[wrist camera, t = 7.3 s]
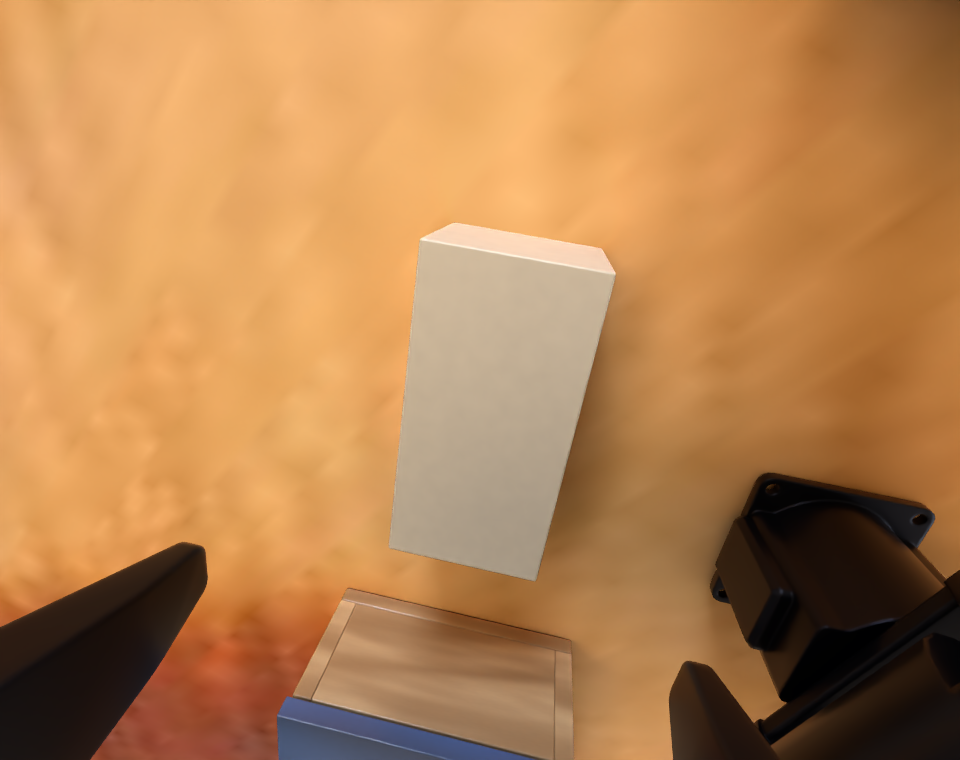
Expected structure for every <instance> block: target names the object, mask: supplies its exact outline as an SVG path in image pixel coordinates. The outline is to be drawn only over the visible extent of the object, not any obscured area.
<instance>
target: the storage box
mask: <svg viewBox="0 0 960 760" xmlns="http://www.w3.org/2000/svg"><path fill="white" fill-rule="evenodd" d="M293 698H296V699H300V700H304V701H308V702H312V703H316V704H319V705H323V706H327V707H331V708H335V709H339V710H343V711H347V712H351V713H355V714H359V715H363V716H367V717H371V718H375V719H378V720H382V721H386V722H390V723H394V724H398V725H402V726H406V727H410V728H414V729H418V730H422V731H426V732H430V733H434V734H437V735H441V736H445V737H449V738H453V739H457V740H461V741H465V742H469V743H473V744H477V745H481V746H485V747H489V748H493V749H496V750H500V751H504V752H508V753H512V754H516V755H520V756H524V757H528V758H532V759H536V760H574V730H573V691H572V655H571V641H570V640H566V639H562V638H558V637H554V636H549V635H545V634H541V633H537V632H532V631H528V630H524V629H520V628H515V627H511V626H507V625H503V624H498V623H494V622H490V621H486V620H481V619H477V618H473V617H469V616H464V615H460V614H456V613H452V612H447V611H443V610H439V609H435V608H430V607H426V606H422V605H418V604H413V603H409V602H405V601H401V600H396V599H392V598H388V597H384V596H379V595H375V594H371V593H367V592H362V591H358V590H354V589H350V588H347V590H346V592H345V594H344V596H343V598H342V600H341V601H340V603H339V605H338V607H337V609H336V611H335V613H334V615H333V617H332V619H331V621H330V623H329V625H328V627H327V628H326V630H325V632H324V634H323V636H322V638H321V640H320V642H319V644H318V646H317V648H316V650H315V652H314V654H313V656H312V658H311V660H310V662H309V664H308V666H307V668H306V670H305V672H304V674H303V676H302V677H301V679H300V681H299V683H298V685H297V687H296V689H295V691H294V693H293Z"/></svg>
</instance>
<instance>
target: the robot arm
mask: <svg viewBox="0 0 960 760" xmlns="http://www.w3.org/2000/svg"><path fill="white" fill-rule="evenodd" d="M771 484H776V485H775V486H774V488H771V489H766V488H767V486H768V485H771ZM919 514H920V515H919ZM916 515H919V516H918V517H917V518H914V517H915V516H916ZM913 518H914V519H913ZM934 520H935V515H934V514H933V513H932V511H930V510H929V509H928V508H927V507H926V506H925V505H923V504H921V503H917V502H912V501H908V500H903V499H898V498H893V497H888V496H883V495H878V494H873V493H868V492H863V491H859V490H854V489H849V488H844V487H839V486H834V485H829V484H824V483H819V482H815V481H810V480H805V479H800V478H795V477H790V476H785V475H780V474H775V473H766V474H763V475H762V476H760V477H759V478H758V479H757V481H756V482H755V485H754V487H753V489H752V491H751V494H750V496H749V498H748V500H747V503H746V505H745V507H744V509H743V511H742V514H741V516H739V517H738V518H737V519H736V520H735V521H734V523H733V525H732V527H731V530H730V532H729V534H728V536H727V539H726V541H725V543H724V545H723V548H722V550H721V552H720V554H719V557H718V559H717V561H716V564H715V565H716V568H717V570H716V572H715V574H714V576H713V578H712V581H711V583H710V590H711V592H712V595H713V597H714V598H715V599H716V600H718V601H720V602H725V603H729V604H731V606H732V608H733V611H734V613H735V616H736V618H737V621H738V623H739V626H740V629H741V631H742V634H743V636H744V639H745V641H746V642H747V643H748V645H749V646H750V648H753V649H757V650H760V653H761V655H762V657H763V660H764V662H765V664H766V667H767V669H768V672H769V674H770V676H771V679H772V681H773V684H774V686H775V688H776V691H777V693H778V696H779V698H780V699H781V700H782V701H784V702H787V703H786V704H785V705H784V706H782V707H781V708H780V709H778V710H777V711H776V712H774V713H773V714H772V715H770V716H769V717H768V718H766V719H765V720H762V719H759V720H757V721H756V722H755V723H753V722H752V721H751V719H750V718H749V717H748V715H747V714H746V713H745V711H744V710H743V709H742V707H741V706H740V705H739V703H738V702H737V701H736V699H735V698H734V697H733V695H732V694H731V693H730V691H729V690H728V689H727V687H726V686H725V685H724V683H723V682H722V681H721V680H720V678H719V677H718V676H717V674H716V673H715V672H714V670H713V669H712V668H711V667H709V666H708V665H705V664H701V663H697V662H692V661H686V662H684V663H683V665H682V666H681V669H680V671H679V673H678V675H677V677H676V679H675V682H674V684H673V686H672V688H671V691H670V696H669V711H670V724H671V737H672V751H673V760H960V570H959V571H957V572H956V573H955V574H953V575H952V576H951V577H949V578H948V579H945V578H944V577H943V575H942V574H941V573H940V572H939V571H938V570H937V569H936V568H935V567H934V566H933V565H932V564H931V563H930V562H929V561H928V560H927V559H926V558H925V557H924V555H923V554H922V553H921V552H920V551H919V550H918V549H917V548H918V546H919V544H920V543H921V541H922V540H923V538H924V537H925V535H926V534H927V532H928V531H929V529H930V527H931V526H932V524H933V523H934ZM207 580H208V575H207V564H206V552H205V549H204V548H203V547H202V546H200V545H196V544H191V543H187V542H181V543H178V544H176V545H174V546H171V547H169V548H167V549H165V550H163V551H161V552H159V553H157V554H154V555H152V556H150V557H148V558H146V559H144V560H142V561H140V562H138V563H135V564H133V565H131V566H129V567H127V568H125V569H123V570H121V571H118V572H116V573H114V574H112V575H110V576H108V577H106V578H104V579H101V580H99V581H97V582H95V583H93V584H91V585H89V586H87V587H85V588H82V589H80V590H78V591H76V592H74V593H72V594H70V595H68V596H65V597H63V598H61V599H59V600H57V601H55V602H53V603H51V604H49V605H46V606H44V607H42V608H40V609H38V610H36V611H34V612H32V613H29V614H27V615H25V616H23V617H21V618H19V619H17V620H15V621H12V622H10V623H8V624H6V625H4V626H2V627H0V760H90V759H91V758H92V756H93V755H94V754H95V752H96V751H97V750H98V748H99V747H100V746H101V744H102V743H103V741H104V740H105V739H106V737H107V736H108V735H109V733H110V732H111V731H112V729H113V728H114V727H115V725H116V724H117V722H118V721H119V720H120V718H121V717H122V716H123V714H124V713H125V712H126V710H127V709H128V708H129V706H130V705H131V703H132V702H133V701H134V699H135V698H136V697H137V695H138V694H139V693H140V691H141V690H142V689H143V687H144V686H145V684H146V683H147V682H148V680H149V679H150V677H151V676H152V675H153V673H154V672H155V670H156V669H157V667H158V666H159V664H160V663H161V661H162V659H163V658H164V656H165V655H166V653H167V651H168V650H169V648H170V646H171V645H172V643H173V641H174V640H175V638H176V636H177V635H178V633H179V632H180V630H181V628H182V627H183V625H184V623H185V622H186V620H187V618H188V617H189V615H190V613H191V612H192V610H193V608H194V607H195V605H196V603H197V602H198V600H199V598H200V597H201V595H202V594H203V592H204V590H205V587H206V585H207ZM721 589H725V590H723V591H719V590H721Z"/></svg>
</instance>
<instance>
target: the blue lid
mask: <svg viewBox="0 0 960 760" xmlns="http://www.w3.org/2000/svg"><path fill="white" fill-rule="evenodd" d="M277 728H278V752H279V760H536V759H532V758H528V757H524V756H520V755H516V754H512V753H508V752H504V751H500V750H496V749H493V748H489V747H485V746H481V745H477V744H473V743H469V742H465V741H461V740H457V739H453V738H449V737H445V736H441V735H437V734H434V733H430V732H426V731H422V730H418V729H414V728H410V727H406V726H402V725H398V724H394V723H390V722H386V721H382V720H378V719H375V718H371V717H367V716H363V715H359V714H355V713H351V712H347V711H343V710H339V709H335V708H331V707H327V706H323V705H319V704H316V703H312V702H308V701H304V700H300V699H296V698H292V697H286V699H285V701H284V703H283V705H282V707H281V709H280V711H279V713H278V715H277Z"/></svg>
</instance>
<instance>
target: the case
mask: <svg viewBox="0 0 960 760" xmlns="http://www.w3.org/2000/svg"><path fill="white" fill-rule="evenodd" d="M615 277H616V273H615V271H614V270H613V268H612V266H611V264H610V262H609V261H608V259H607V257H606V255H605V253H604V252H603V250H602V249H601V248H597V247H591V246H586V245H580V244H574V243H569V242H563V241H557V240H552V239H546V238H540V237H535V236H529V235H523V234H518V233H512V232H506V231H501V230H495V229H489V228H484V227H478V226H472V225H467V224H461V223H455V222H454V223H452V224H450V225H448V226H445V227H443V228H441V229H439V230H437V231H435V232H433V233H431V234H429V235H427V236H425V237H422V238H420V241H419V251H418V261H417V271H416V281H415V291H414V301H413V311H412V320H411V330H410V340H409V350H408V360H407V370H406V380H405V390H404V400H403V410H402V419H401V429H400V439H399V449H398V459H397V469H396V479H395V489H394V499H393V509H392V519H391V528H390V538H389V548H390V549H395V550H399V551H403V552H408V553H412V554H417V555H421V556H425V557H430V558H434V559H439V560H443V561H447V562H452V563H456V564H460V565H465V566H469V567H474V568H478V569H482V570H487V571H491V572H496V573H500V574H504V575H509V576H513V577H518V578H522V579H526V580H531V581H536V579H537V575H538V572H539V568H540V564H541V560H542V556H543V553H544V549H545V545H546V541H547V537H548V533H549V530H550V526H551V522H552V518H553V514H554V510H555V507H556V503H557V499H558V495H559V491H560V488H561V484H562V480H563V476H564V472H565V468H566V465H567V461H568V457H569V453H570V449H571V445H572V442H573V438H574V434H575V430H576V426H577V423H578V419H579V415H580V411H581V407H582V403H583V400H584V396H585V392H586V388H587V384H588V380H589V377H590V373H591V369H592V365H593V361H594V358H595V354H596V350H597V346H598V342H599V338H600V335H601V331H602V327H603V323H604V319H605V315H606V312H607V308H608V304H609V300H610V296H611V293H612V289H613V285H614V281H615Z"/></svg>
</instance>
